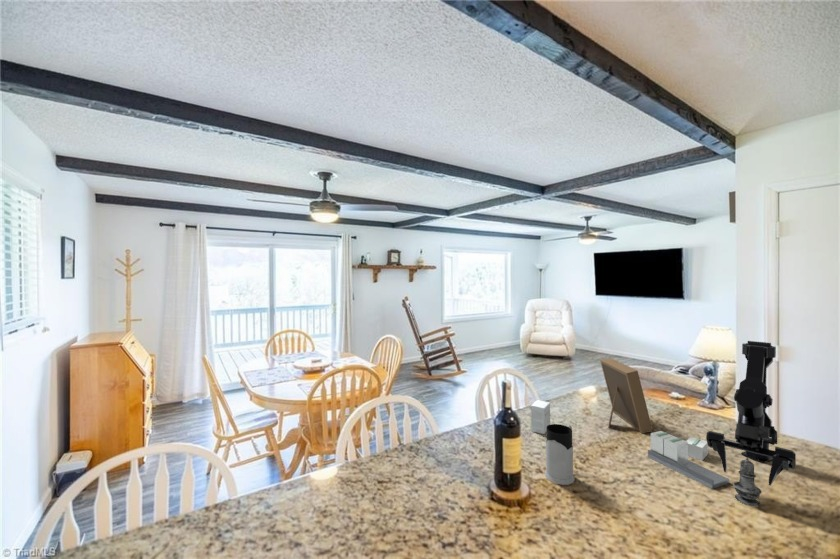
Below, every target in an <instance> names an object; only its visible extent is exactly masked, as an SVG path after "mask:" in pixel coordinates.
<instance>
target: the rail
mask: <svg viewBox="0 0 840 559" xmlns="http://www.w3.org/2000/svg"><path fill="white" fill-rule="evenodd" d="M647 457H648V458H649V459H651V460H653V461H655V462H657V463H659V464H660V465H663V466H665V467H667V468H669V469H672V470H673V471H675V472H678V473H679V474H681V475H683V476H685V477H687V478H689V479H691V480H692V481H696V482H698V483H700V484H701V485H703V486H706V487H707V486H708V487H707V488H710V489H711V488H712V489H711V490H713V489H716V488H719V487H722V486H725V485H727V484H730V478H729V477H726V476H724V475H722V474H719V473H717V472H715V471H713V470H711V469H709V468H707V467H705V466H702V465H699V464H697V463H695V462H693V461H691V460H689V456H688V442H687V440H684V439H682V438H681V437H677V436H674V435H672V434H669V433H668V432H666V431H665V432H664V431H662V430H659V431H655V432H651V433H650V449H647Z"/></svg>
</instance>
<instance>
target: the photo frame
mask: <svg viewBox="0 0 840 559" xmlns="http://www.w3.org/2000/svg"><path fill="white" fill-rule="evenodd" d="M599 362H600V365H601V369H602V373H603V377H604V381H605V386H606V388H607V392H608V396H609V400H610V404H611V412H610V415H609V421H608V428H607V429H610V428H611V425H612V419H613V413H614V414H615V415H616V416H617V417H618V418H620V419H622V420H623V421H625V423H627V424H629V425H630V426H631V427H633V428H634V429H636V431H638V432H640V434H646V433H650V432H651V433H652V432H653V427H652V423H651V418H650V415H649V410H648V407H647V403H646V399H645V395H644V391H643V390H644V389H643V387H642V386H643V385H642V384H641V379H640V375H639V370H638V369H635V368H633V367H631V366H629V365H626V364H624V363H622V362H619V361H618V360H615V359H614V358H611V357H606V358H603V359H600V361H599Z"/></svg>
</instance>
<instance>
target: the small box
mask: <svg viewBox="0 0 840 559" xmlns="http://www.w3.org/2000/svg"><path fill="white" fill-rule="evenodd" d="M548 425H551V402H548V401H544V400H539V399H537V400H535V401H534V402H533V403H532V404H531V405H530V431H531V432H534V433H537V434H542V435H545V434H547V426H548Z"/></svg>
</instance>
